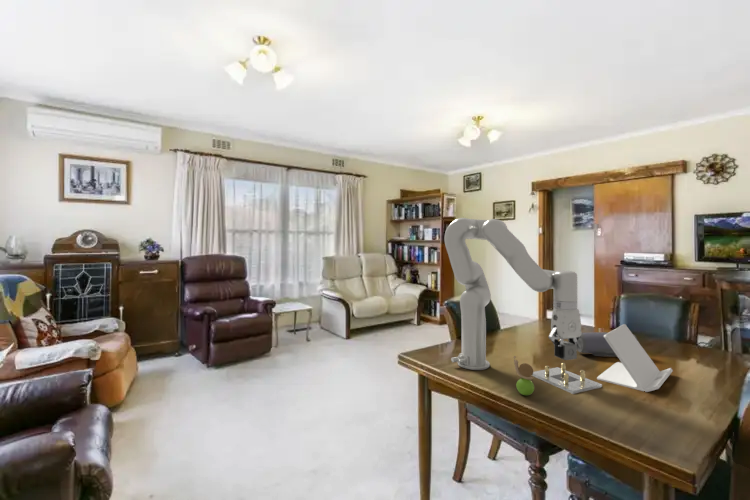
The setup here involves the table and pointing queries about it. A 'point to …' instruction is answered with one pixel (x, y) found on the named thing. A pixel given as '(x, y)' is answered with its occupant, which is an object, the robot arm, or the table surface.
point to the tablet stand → (632, 363)
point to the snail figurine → (524, 378)
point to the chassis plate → (566, 379)
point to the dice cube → (568, 351)
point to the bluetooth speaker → (595, 344)
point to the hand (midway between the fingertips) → (565, 355)
